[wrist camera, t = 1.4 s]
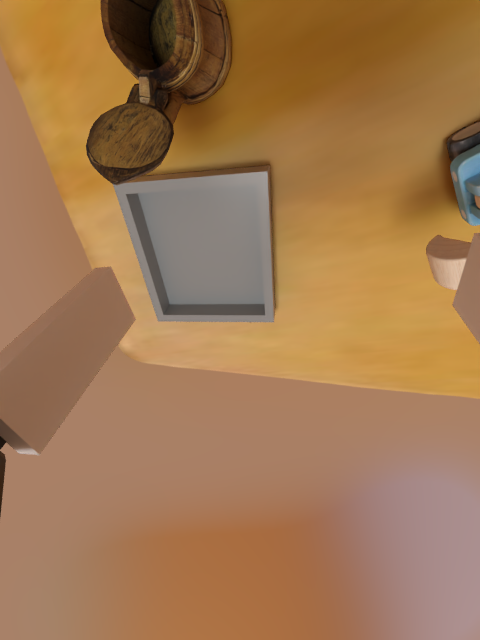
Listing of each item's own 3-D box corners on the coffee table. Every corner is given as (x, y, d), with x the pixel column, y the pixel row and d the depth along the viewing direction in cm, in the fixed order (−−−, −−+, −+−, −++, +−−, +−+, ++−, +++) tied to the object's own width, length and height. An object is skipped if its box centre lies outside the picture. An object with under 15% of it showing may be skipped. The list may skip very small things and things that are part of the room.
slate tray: (126, 177, 37) (113, 184, 35) (269, 165, 34) (267, 171, 31) (165, 308, 49) (158, 321, 46) (275, 308, 46) (273, 322, 43)
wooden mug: (150, 143, 35) (50, 177, 20) (138, -31, 26) (-44, -178, 12) (225, 154, 34) (175, 197, 20) (237, -20, 26) (167, -157, 12)
